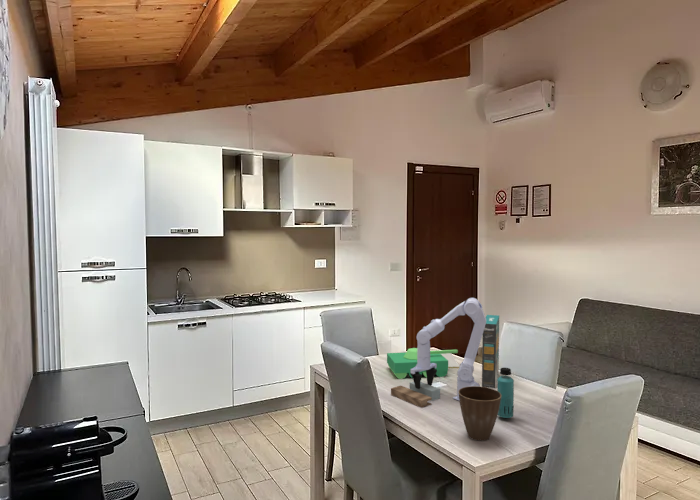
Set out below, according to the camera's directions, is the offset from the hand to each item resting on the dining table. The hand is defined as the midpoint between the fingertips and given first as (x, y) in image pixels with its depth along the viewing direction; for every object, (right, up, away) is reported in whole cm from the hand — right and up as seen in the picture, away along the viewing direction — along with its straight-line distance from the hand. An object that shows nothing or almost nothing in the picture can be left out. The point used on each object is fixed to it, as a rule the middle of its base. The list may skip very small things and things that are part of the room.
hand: (423, 386), depth 220 cm
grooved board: (-7, -4, -5) cm, 9 cm away
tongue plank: (0, -4, 0) cm, 4 cm away
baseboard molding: (+19, -1, +55) cm, 58 cm away
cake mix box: (+35, -3, +20) cm, 41 cm away
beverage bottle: (+28, -6, -26) cm, 39 cm away
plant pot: (+14, -7, -42) cm, 45 cm away
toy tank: (+5, -2, +33) cm, 33 cm away
